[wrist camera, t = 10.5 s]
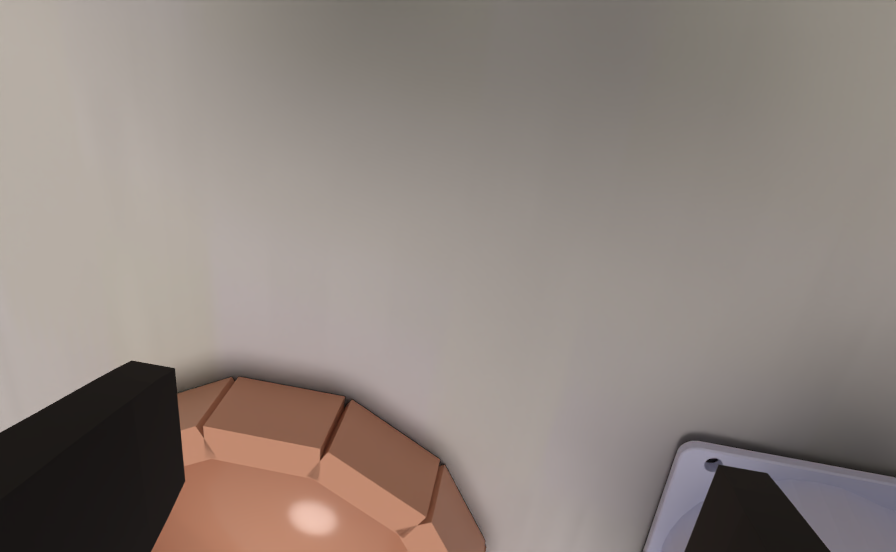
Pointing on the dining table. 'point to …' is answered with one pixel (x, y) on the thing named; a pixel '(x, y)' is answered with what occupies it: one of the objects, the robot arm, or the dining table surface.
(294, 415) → the dish
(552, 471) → the dining table surface
